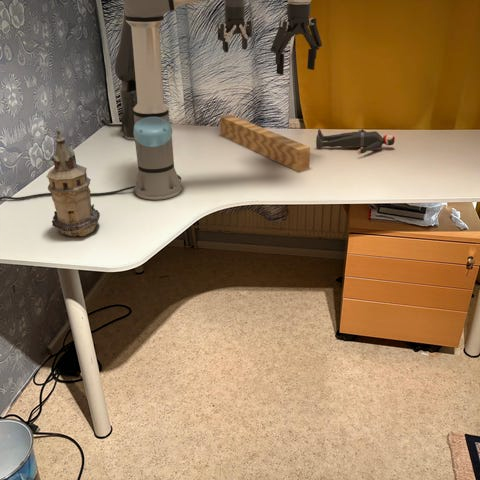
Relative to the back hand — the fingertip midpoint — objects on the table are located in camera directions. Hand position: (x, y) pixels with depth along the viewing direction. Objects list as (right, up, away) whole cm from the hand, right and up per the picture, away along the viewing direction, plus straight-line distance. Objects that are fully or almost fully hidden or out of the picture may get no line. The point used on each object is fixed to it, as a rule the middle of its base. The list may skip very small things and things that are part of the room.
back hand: (235, 50), depth 206 cm
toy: (+47, -36, +6) cm, 60 cm away
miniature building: (-45, -70, -51) cm, 97 cm away
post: (+10, -38, +4) cm, 39 cm away
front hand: (+21, -16, -26) cm, 37 cm away
